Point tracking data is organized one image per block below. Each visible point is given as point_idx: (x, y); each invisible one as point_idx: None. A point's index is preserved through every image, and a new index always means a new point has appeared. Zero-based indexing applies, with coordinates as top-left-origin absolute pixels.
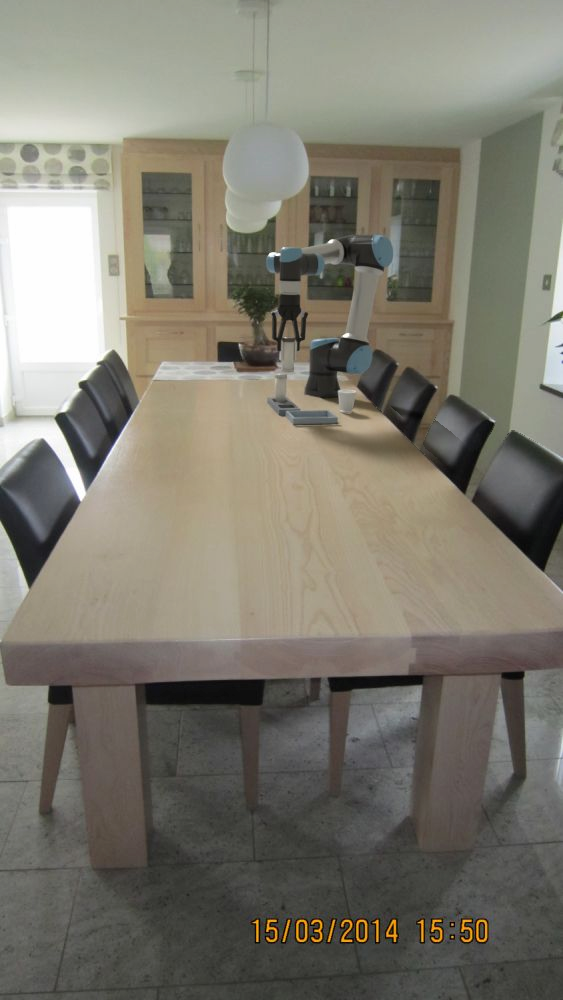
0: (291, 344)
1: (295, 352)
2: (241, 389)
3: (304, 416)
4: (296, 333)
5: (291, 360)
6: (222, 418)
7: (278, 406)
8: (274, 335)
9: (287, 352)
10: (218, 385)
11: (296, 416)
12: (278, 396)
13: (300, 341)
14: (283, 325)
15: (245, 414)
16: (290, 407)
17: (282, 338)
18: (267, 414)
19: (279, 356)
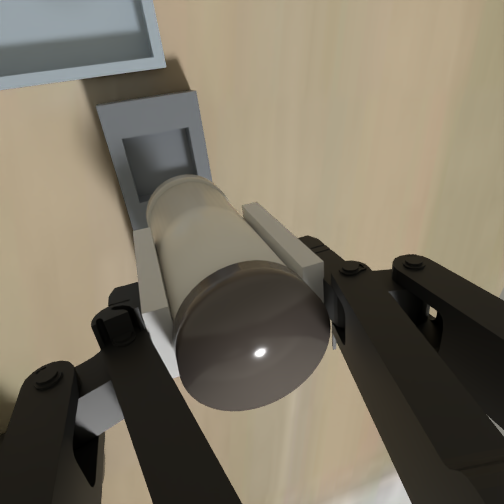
0: (208, 262)
1: (149, 256)
2: (287, 441)
3: (73, 61)
4: (166, 398)
5: (176, 208)
6: (390, 51)
7: (197, 161)
8: (447, 279)
9: (227, 221)
10: (335, 458)
11: (113, 59)
12: None
13: (94, 317)
14: (455, 421)
15: (309, 124)
16: (145, 198)
17: (327, 315)
18: (233, 130)
19: None
